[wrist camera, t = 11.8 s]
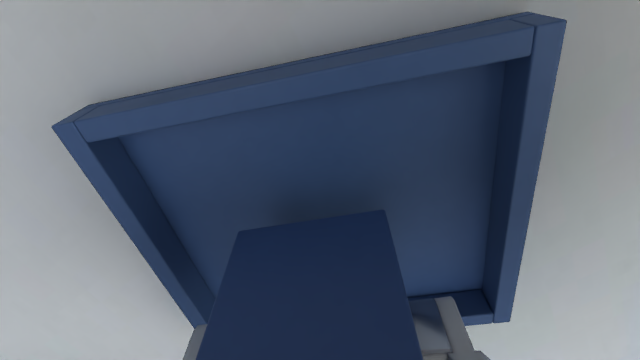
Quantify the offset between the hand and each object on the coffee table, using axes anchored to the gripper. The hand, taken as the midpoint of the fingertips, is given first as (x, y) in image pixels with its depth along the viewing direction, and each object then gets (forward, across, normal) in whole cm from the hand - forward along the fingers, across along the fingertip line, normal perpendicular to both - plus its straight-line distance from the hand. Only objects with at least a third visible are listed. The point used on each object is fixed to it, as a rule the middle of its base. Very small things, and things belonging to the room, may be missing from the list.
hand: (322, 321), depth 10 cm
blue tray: (+5, 0, 0) cm, 5 cm away
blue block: (+2, 0, 0) cm, 2 cm away
